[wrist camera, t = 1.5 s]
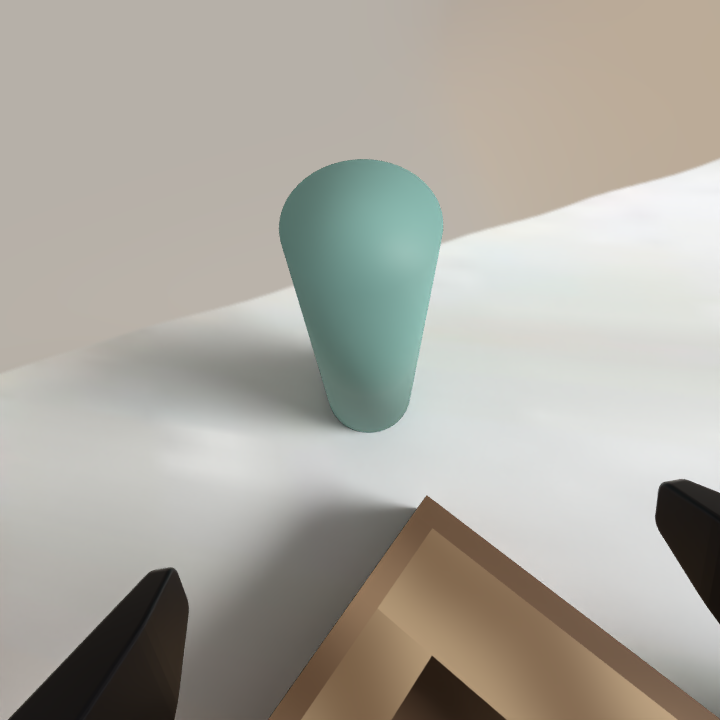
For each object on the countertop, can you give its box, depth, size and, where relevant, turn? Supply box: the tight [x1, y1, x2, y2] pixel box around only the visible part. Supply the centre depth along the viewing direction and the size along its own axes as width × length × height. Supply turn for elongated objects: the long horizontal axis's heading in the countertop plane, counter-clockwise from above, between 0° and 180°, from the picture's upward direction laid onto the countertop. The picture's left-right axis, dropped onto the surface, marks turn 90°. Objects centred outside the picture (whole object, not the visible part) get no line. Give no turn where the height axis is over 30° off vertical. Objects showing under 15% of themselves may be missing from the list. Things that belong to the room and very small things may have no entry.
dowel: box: [279, 159, 443, 433], centre depth 18 cm, size 4×4×13 cm
